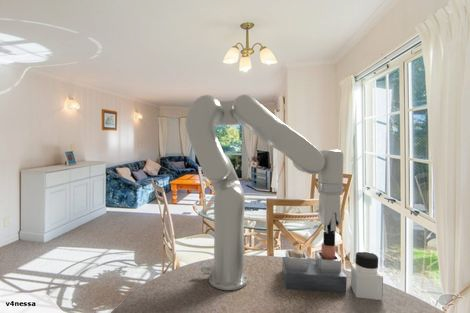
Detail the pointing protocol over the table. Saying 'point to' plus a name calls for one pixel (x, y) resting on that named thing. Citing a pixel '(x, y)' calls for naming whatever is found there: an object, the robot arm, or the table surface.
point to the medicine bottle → (366, 276)
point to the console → (313, 273)
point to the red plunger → (327, 252)
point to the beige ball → (296, 253)
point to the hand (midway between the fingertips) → (329, 244)
